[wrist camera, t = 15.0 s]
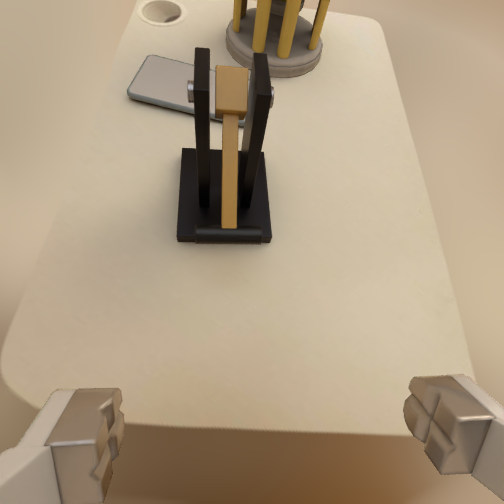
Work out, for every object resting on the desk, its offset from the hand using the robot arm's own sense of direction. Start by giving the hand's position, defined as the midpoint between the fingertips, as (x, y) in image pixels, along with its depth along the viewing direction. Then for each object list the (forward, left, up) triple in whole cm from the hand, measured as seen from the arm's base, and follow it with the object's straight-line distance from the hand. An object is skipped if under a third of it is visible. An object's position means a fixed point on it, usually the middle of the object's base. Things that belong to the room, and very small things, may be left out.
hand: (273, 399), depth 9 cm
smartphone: (+27, +24, -17) cm, 40 cm away
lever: (+13, +10, -9) cm, 19 cm away
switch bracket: (+16, +12, -17) cm, 26 cm away
